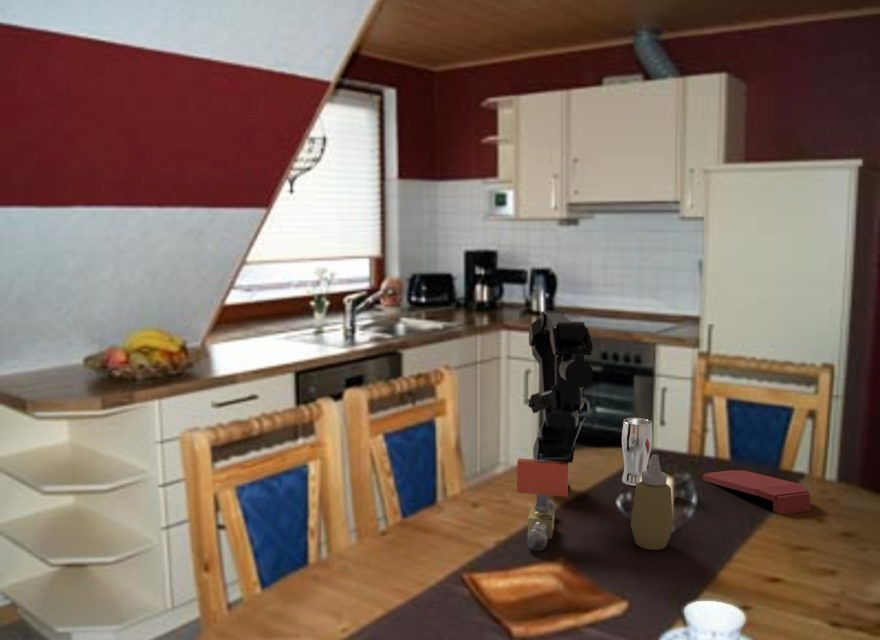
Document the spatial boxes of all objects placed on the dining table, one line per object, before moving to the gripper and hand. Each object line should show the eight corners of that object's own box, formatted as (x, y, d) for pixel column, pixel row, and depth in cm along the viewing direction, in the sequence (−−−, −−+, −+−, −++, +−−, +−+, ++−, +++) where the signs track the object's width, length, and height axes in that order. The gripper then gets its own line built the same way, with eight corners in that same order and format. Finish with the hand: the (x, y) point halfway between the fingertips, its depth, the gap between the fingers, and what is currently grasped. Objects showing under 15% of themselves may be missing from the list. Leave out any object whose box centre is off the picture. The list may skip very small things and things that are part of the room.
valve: (533, 514, 170) (534, 496, 170) (556, 516, 169) (556, 498, 168) (524, 549, 153) (524, 529, 152) (549, 551, 152) (549, 531, 151)
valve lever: (517, 508, 162) (518, 457, 161) (566, 513, 160) (568, 461, 159) (516, 512, 160) (517, 459, 159) (566, 516, 158) (568, 463, 157)
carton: (700, 494, 195) (772, 516, 171) (699, 473, 195) (771, 493, 171) (741, 489, 198) (817, 510, 175) (740, 469, 198) (816, 487, 175)
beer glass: (647, 477, 194) (650, 418, 192) (652, 487, 187) (655, 425, 185) (618, 476, 195) (620, 417, 193) (621, 486, 188) (624, 424, 186)
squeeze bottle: (662, 557, 150) (667, 464, 147) (622, 545, 155) (626, 456, 152) (678, 543, 156) (683, 454, 154) (639, 532, 161) (643, 446, 159)
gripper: (541, 371, 182) (541, 438, 184) (521, 385, 165) (522, 459, 166) (590, 373, 178) (590, 441, 180) (574, 388, 161) (575, 463, 162)
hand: (568, 451), depth 172 cm, fingers closed
